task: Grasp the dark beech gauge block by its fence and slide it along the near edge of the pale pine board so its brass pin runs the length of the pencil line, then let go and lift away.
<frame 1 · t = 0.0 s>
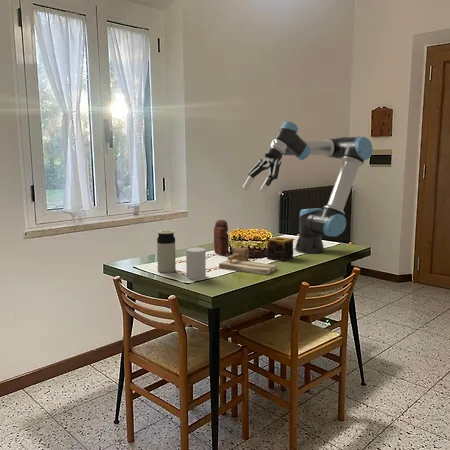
hand: (253, 190, 206), 36 cm above the table, tool tilted 35°, fingers open, 13 cm apart
board: (247, 268, 209), on the table
candle: (279, 258, 230), on the table
travel mug: (166, 271, 205), on the table
wooden figurine: (221, 253, 240), on the table
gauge: (240, 262, 220), on the table
grey cylinder: (196, 277, 195), on the table
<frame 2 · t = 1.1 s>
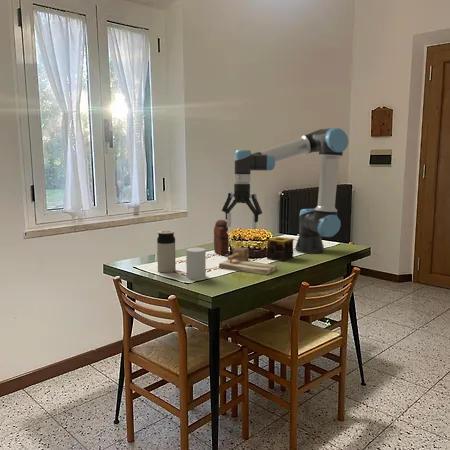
hand: (241, 227, 217), 17 cm above the table, tool pointing down, fingers open, 13 cm apart
nothing on the table moved.
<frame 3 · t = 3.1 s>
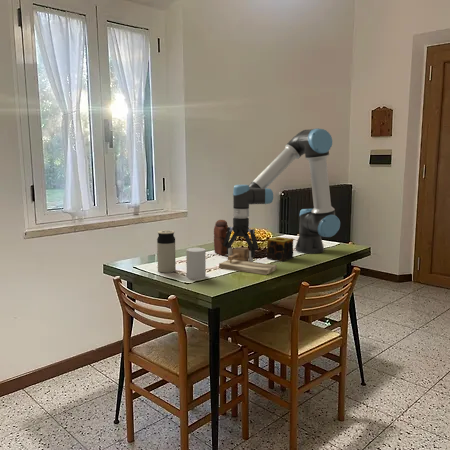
hand: (240, 262, 220), 0 cm above the table, tool pointing down, fingers open, 11 cm apart
nothing on the table moved.
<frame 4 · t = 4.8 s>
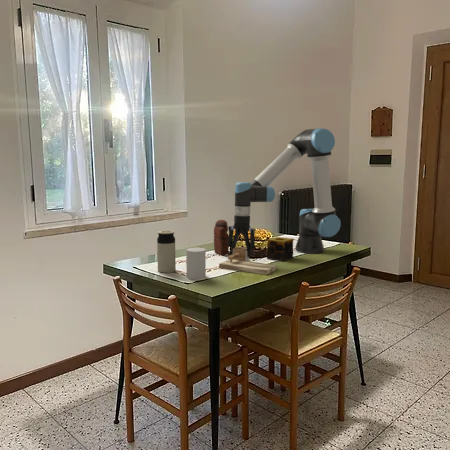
hand: (240, 262, 220), 0 cm above the table, tool pointing down, fingers closed on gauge, 6 cm apart
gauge: (240, 262, 220), on the table, touching gripper
everything else where it was.
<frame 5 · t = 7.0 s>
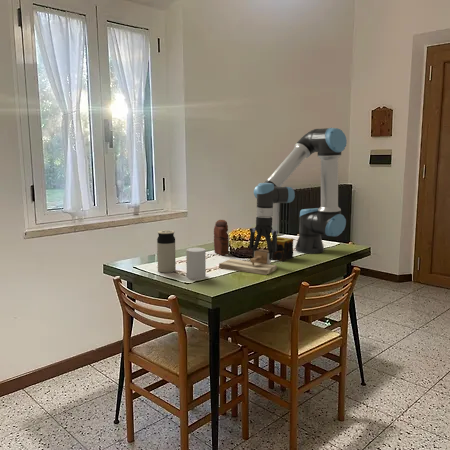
hand: (262, 265, 214), 0 cm above the table, tool pointing down, fingers closed on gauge, 6 cm apart
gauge: (262, 265, 214), on the table, touching gripper
everything else where it was.
when the fingers open (0 cm above the table, at t = 9.3 s): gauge stays where it is, on the table.
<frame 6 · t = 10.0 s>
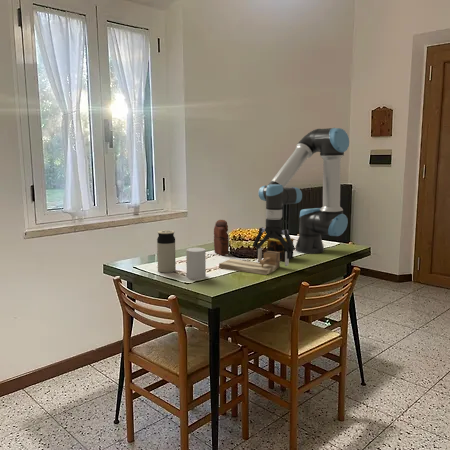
hand: (273, 263, 212), 2 cm above the table, tool pointing down, fingers open, 13 cm apart
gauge: (271, 267, 212), on the table
everything else where it was.
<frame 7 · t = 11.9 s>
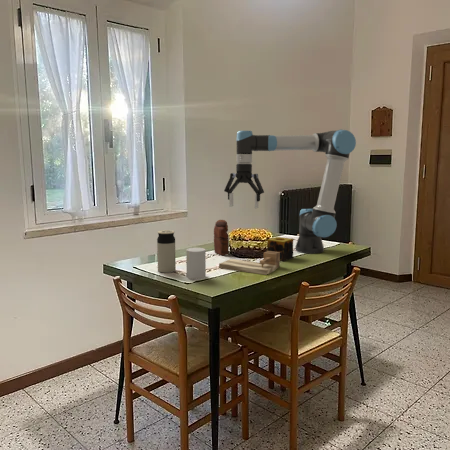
hand: (243, 207, 222), 26 cm above the table, tool pointing down, fingers open, 13 cm apart
nothing on the table moved.
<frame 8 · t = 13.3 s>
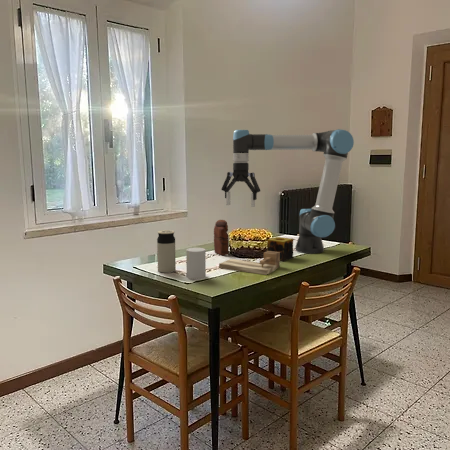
hand: (240, 205, 224), 27 cm above the table, tool pointing down, fingers open, 13 cm apart
nothing on the table moved.
at the end: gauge inside the target area (0.7 cm from its centre), on the table; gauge tilted 0°; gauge moved 16.3 cm from its start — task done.
